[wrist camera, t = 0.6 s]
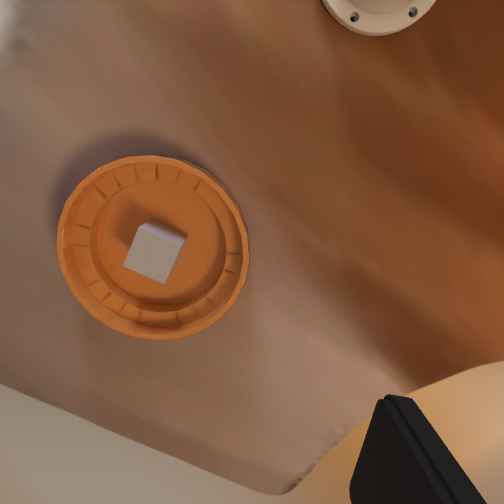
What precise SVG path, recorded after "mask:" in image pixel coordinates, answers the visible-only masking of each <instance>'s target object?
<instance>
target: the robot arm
mask: <svg viewBox="0 0 504 504" xmlns="http://www.w3.org/2000/svg"><path fill="white" fill-rule="evenodd" d="M435 1H436V0H322V2H323V4H324V5H325V7H326V8H327V10H328V11H329V13H330V14H331V15H332V16H333V17H334V18H335V19H336V20H337V21H338V22H339V23H340V24H341V25H343V26H344V27H346V28H347V29H349V30H351V31H353V32H356V33H359V34H361V35H368V36H383V35H389V34H392V33H396V32H399V31H401V30H402V29H404V28H406V27H408V26H410V25H411V24H413V23H414V22H415V21H417V20H418V19H419V18H420V17H422V16H423V15H424V14H425V13H426V12H427V11H428V10H429V9H430V8H431V7H432V5H433V4H434V3H435ZM409 13H410V14H411V17H410V16H409ZM350 18H353V19H354V22H352V21H351V20H350ZM350 499H351V503H352V504H487V503H486V502H485V500H484V499H483V498H482V496H481V495H480V493H479V492H478V490H477V489H476V488H475V486H474V485H473V483H472V482H471V481H470V479H469V478H468V476H467V475H466V474H465V472H464V471H463V469H462V468H461V467H460V465H459V464H458V462H457V461H456V460H455V458H454V457H453V455H452V454H451V452H450V451H449V450H448V448H447V447H446V445H445V444H444V442H443V441H442V440H441V438H440V437H439V435H438V434H437V433H436V431H435V430H434V428H433V427H432V426H431V424H430V423H429V421H428V420H427V419H426V417H425V416H424V414H423V413H422V411H421V410H420V409H419V407H418V406H417V404H416V403H415V402H414V401H413V399H411V398H408V397H402V396H396V395H390V394H388V395H386V396H385V397H384V399H379V400H378V401H377V404H376V406H375V409H374V412H373V416H372V419H371V422H370V425H369V428H368V431H367V434H366V437H365V440H364V443H363V446H362V449H361V452H360V455H359V458H358V461H357V464H356V467H355V470H354V473H353V476H352V479H351V483H350Z"/></svg>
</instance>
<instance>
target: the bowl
mask: <svg viewBox="0 0 504 504" xmlns="http://www.w3.org/2000/svg"><path fill="white" fill-rule="evenodd" d="M150 219H153V220H155V221H157V222H159V223H161V224H164V225H166V226H168V227H170V228H172V229H175V230H177V231H179V232H181V233H183V234H186V235H188V236H189V237H188V239H187V241H186V244H185V246H184V248H183V250H182V252H181V255H180V257H179V259H178V261H177V264H176V266H175V268H174V270H173V272H172V273H171V275H170V277H169V278H168V280H167V281H166V283H165V284H162V283H160V282H158V281H156V280H153V279H151V278H149V277H146V276H144V275H142V274H139V273H137V272H135V271H133V270H130V269H128V268H126V267H123V264H124V262H125V259H126V257H127V254H128V252H129V250H130V247H131V245H132V242H133V240H134V237H135V235H136V232H137V230H138V227H139V226H141V225H142V224H144V223H145V222H147V221H148V220H150ZM57 254H58V258H59V263H60V267H61V271H62V275H63V276H64V278H65V280H66V282H67V284H68V286H69V288H70V290H71V292H72V294H73V295H74V297H75V298H76V299H77V300H78V301H79V302H80V303H81V304H82V306H83V307H84V308H85V309H86V310H87V311H88V312H89V313H90V314H91V315H92V316H94V317H95V318H97V319H98V320H99V321H101V322H102V323H104V324H105V325H106V326H108V327H110V328H112V329H114V330H117V331H119V332H121V333H124V334H126V335H129V336H132V337H137V338H143V339H149V340H167V339H179V338H182V337H185V336H188V335H191V334H194V333H197V332H200V331H202V330H203V329H205V328H207V327H208V326H210V325H211V324H213V323H214V322H216V321H218V320H219V319H220V318H221V317H222V316H223V315H224V314H225V313H226V311H227V310H228V309H229V308H230V307H231V306H232V305H233V304H234V302H235V301H236V299H237V297H238V295H239V293H240V291H241V289H242V287H243V285H244V282H245V278H246V273H247V268H248V263H249V242H248V229H247V225H246V223H245V220H244V217H243V214H242V211H241V209H240V207H239V205H238V203H237V202H236V200H235V199H234V197H233V196H232V194H231V193H230V192H229V190H228V189H227V187H226V186H225V185H224V184H223V183H221V182H220V181H219V180H218V179H217V178H216V177H214V176H213V175H212V174H211V173H210V172H209V171H207V170H205V169H203V168H201V167H199V166H197V165H195V164H193V163H191V162H189V161H187V160H183V159H178V158H173V157H168V156H163V155H149V156H136V157H125V158H122V159H119V160H116V161H114V162H111V163H108V164H106V165H103V166H101V167H99V168H98V169H96V170H95V171H94V172H92V173H91V174H90V175H88V176H87V177H86V178H85V179H83V180H82V181H81V182H80V183H79V184H78V186H77V187H76V188H75V190H74V191H73V192H72V194H71V195H70V197H69V198H68V199H67V201H66V202H65V205H64V208H63V211H62V214H61V217H60V220H59V223H58V228H57Z"/></svg>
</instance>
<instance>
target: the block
mask: <svg viewBox="0 0 504 504" xmlns="http://www.w3.org/2000/svg"><path fill="white" fill-rule="evenodd" d="M188 237H189V236H188V235H186V234H183V233H181V232H179V231H177V230H175V229H172V228H170V227H168V226H166V225H164V224H161V223H159V222H157V221H155V220H153V219H150V220H148V221H147V222H145V223H144V224H142V225H141V226H139V227H138V230H137V232H136V235H135V237H134V240H133V242H132V245H131V247H130V250H129V252H128V254H127V257H126V259H125V262H124V264H123V267H126V268H128V269H130V270H133V271H135V272H137V273H139V274H142V275H144V276H146V277H149V278H151V279H153V280H156V281H158V282H160V283H162V284H165V283H166V281H167V280H168V278H169V277H170V275H171V273H172V272H173V270H174V268H175V266H176V264H177V261H178V259H179V257H180V255H181V252H182V250H183V248H184V246H185V244H186V241H187V239H188Z"/></svg>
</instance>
